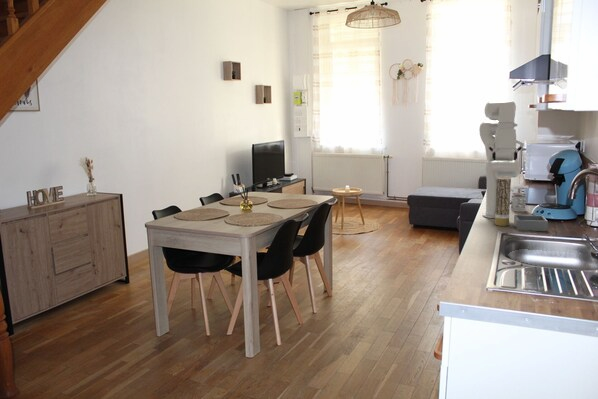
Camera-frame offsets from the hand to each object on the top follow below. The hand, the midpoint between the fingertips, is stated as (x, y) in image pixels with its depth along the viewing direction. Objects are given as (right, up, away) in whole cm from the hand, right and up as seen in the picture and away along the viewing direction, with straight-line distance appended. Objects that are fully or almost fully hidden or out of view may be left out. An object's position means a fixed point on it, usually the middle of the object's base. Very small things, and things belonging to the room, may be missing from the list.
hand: (504, 160), depth 250 cm
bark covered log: (+1, -34, +6) cm, 34 cm away
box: (+12, -34, -1) cm, 36 cm away
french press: (+26, -26, +45) cm, 58 cm away
